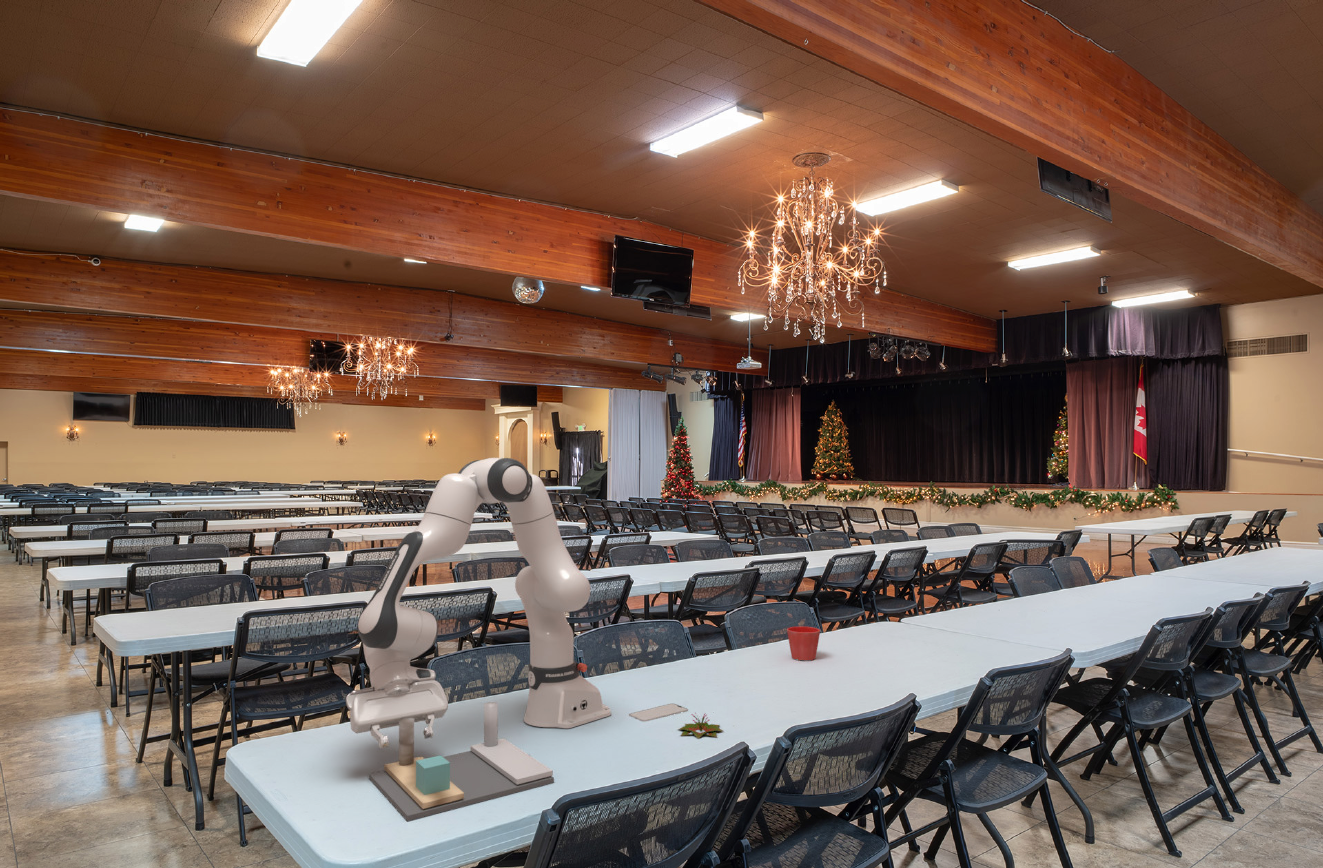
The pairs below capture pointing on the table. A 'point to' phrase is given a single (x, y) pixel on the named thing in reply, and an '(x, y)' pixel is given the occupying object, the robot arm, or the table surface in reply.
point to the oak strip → (406, 771)
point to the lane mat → (465, 774)
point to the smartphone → (658, 712)
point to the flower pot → (803, 642)
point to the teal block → (432, 775)
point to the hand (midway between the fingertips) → (407, 741)
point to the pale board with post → (507, 752)
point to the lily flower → (700, 728)
